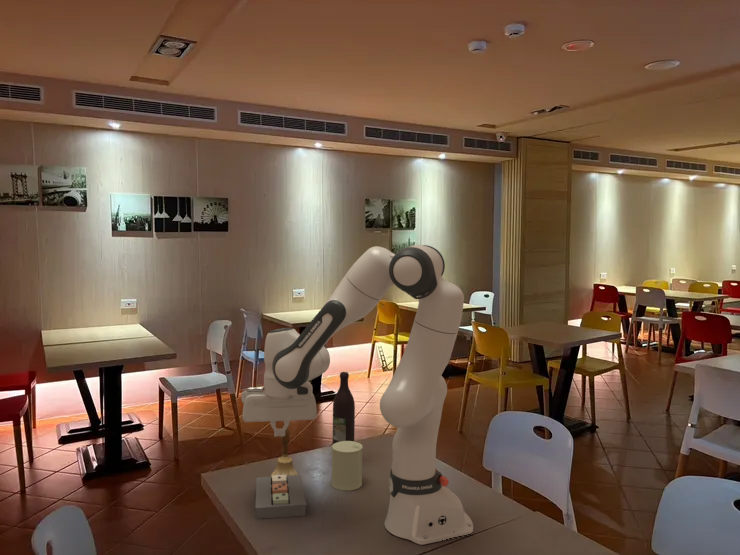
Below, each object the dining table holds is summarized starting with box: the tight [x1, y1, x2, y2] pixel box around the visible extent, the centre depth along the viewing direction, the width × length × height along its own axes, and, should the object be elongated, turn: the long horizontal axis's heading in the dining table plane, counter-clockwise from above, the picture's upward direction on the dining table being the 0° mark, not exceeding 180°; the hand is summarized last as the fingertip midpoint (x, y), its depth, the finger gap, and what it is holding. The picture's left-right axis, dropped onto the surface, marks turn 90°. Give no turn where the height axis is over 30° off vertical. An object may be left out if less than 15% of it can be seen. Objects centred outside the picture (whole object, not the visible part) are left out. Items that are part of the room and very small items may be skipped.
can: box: [330, 440, 364, 492], centre depth 169 cm, size 9×9×12 cm
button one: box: [272, 475, 287, 484], centre depth 163 cm, size 4×4×3 cm
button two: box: [273, 493, 288, 505], centre depth 151 cm, size 4×4×3 cm
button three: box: [272, 483, 287, 495], centre depth 157 cm, size 4×4×3 cm
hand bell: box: [270, 425, 299, 477], centre depth 173 cm, size 8×8×16 cm
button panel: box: [255, 474, 307, 520], centre depth 157 cm, size 13×19×3 cm
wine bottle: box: [332, 371, 356, 445], centre depth 183 cm, size 7×7×30 cm
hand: (279, 435), depth 156 cm, fingers closed
